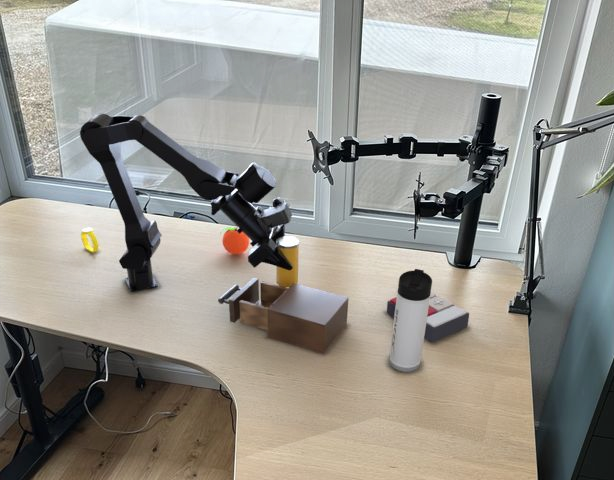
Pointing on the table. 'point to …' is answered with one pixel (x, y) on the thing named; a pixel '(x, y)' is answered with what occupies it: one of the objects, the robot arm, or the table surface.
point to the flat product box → (439, 318)
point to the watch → (93, 238)
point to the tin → (290, 251)
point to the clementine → (235, 241)
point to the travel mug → (410, 320)
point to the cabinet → (307, 317)
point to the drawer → (252, 302)
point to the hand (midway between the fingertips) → (293, 263)
